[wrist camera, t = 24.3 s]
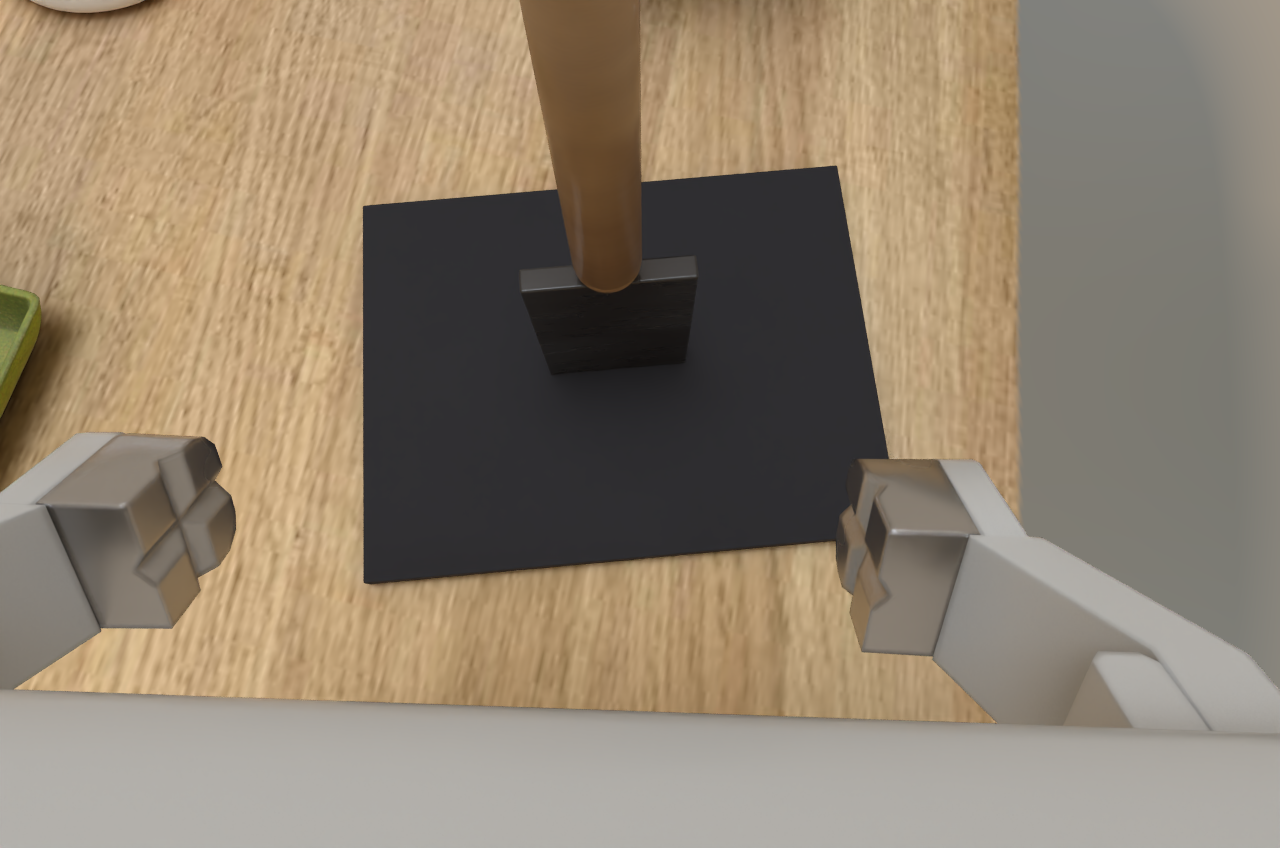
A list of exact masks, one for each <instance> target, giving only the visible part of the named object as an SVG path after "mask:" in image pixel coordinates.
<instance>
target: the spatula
mask: <svg viewBox="0 0 1280 848" xmlns="http://www.w3.org/2000/svg"><path fill="white" fill-rule="evenodd" d="M520 5H521V10H522V15H523V20H524V25H525V30H526V35H527V40H528V45H529V50H530V55H531V60H532V65H533V70H534V75H535V80H536V85H537V90H538V95H539V100H540V105H541V110H542V115H543V120H544V125H545V130H546V135H547V140H548V145H549V150H550V155H551V160H552V165H553V170H554V175H555V180H556V185H557V190H558V195H559V200H560V205H561V210H562V215H563V220H564V225H565V230H566V235H567V240H568V245H569V250H570V255H571V260H572V265H570V266H558V267H547V268H535V269H524V270H520V271H519V283H520V293H521V296H522V298H523V301H524V304H525V306H526V309H527V312H528V314H529V317H530V320H531V322H532V325H533V328H534V331H535V333H536V336H537V339H538V341H539V344H540V347H541V349H542V352H543V355H544V357H545V360H546V363H547V365H548V368H549V371H550V373H551V374H552V375H553V374H564V373H575V372H587V371H598V370H609V369H620V368H632V367H643V366H654V365H666V364H677V363H685V361H686V355H687V348H688V342H689V335H690V329H691V322H692V316H693V309H694V303H695V296H696V289H697V283H698V267H697V259H696V256H695V255H686V256H675V257H663V258H651V259H642V207H641V84H640V0H520Z"/></svg>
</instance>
